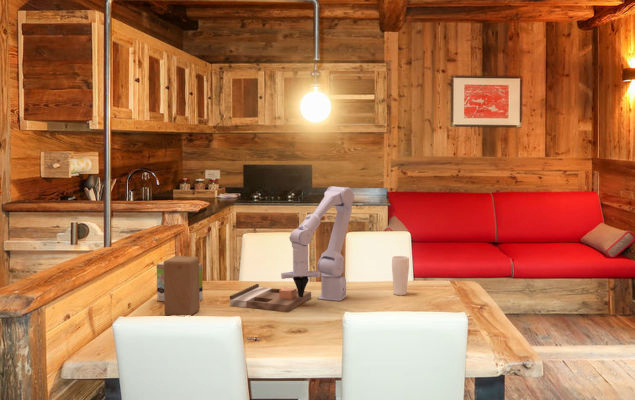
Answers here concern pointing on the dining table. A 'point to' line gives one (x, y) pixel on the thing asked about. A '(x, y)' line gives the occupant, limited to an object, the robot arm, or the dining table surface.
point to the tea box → (161, 282)
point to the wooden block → (181, 285)
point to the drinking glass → (400, 274)
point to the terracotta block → (288, 293)
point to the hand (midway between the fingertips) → (300, 296)
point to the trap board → (266, 299)
